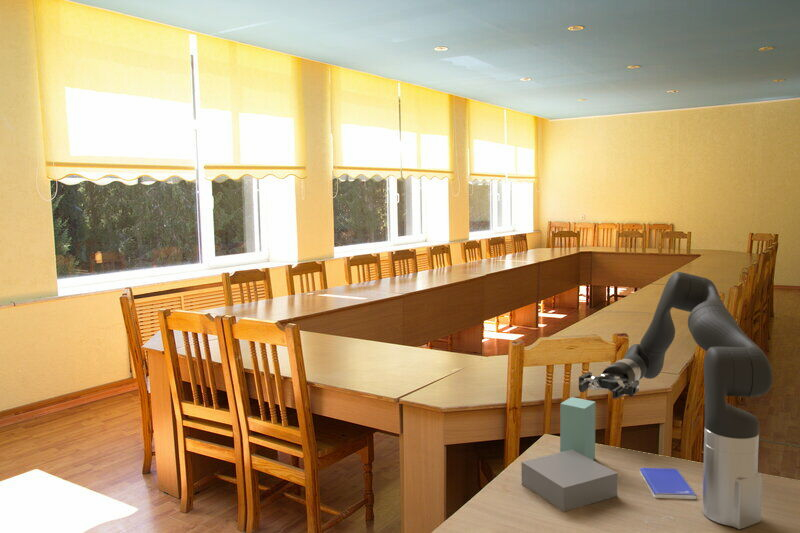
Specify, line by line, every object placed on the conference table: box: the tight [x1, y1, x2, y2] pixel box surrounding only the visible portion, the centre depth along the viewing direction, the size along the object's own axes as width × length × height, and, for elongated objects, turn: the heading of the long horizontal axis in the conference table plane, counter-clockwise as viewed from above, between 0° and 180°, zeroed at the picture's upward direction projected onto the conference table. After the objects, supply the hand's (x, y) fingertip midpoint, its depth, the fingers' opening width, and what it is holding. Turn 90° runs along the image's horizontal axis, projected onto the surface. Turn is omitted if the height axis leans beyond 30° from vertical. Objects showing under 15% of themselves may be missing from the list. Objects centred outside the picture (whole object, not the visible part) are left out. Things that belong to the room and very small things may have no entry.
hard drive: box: [639, 467, 697, 500], centre depth 136 cm, size 2×8×12 cm
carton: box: [559, 396, 596, 461], centre depth 149 cm, size 6×6×14 cm
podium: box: [521, 450, 618, 513], centre depth 135 cm, size 14×14×5 cm
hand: (597, 391), depth 157 cm, fingers open, 8 cm apart
